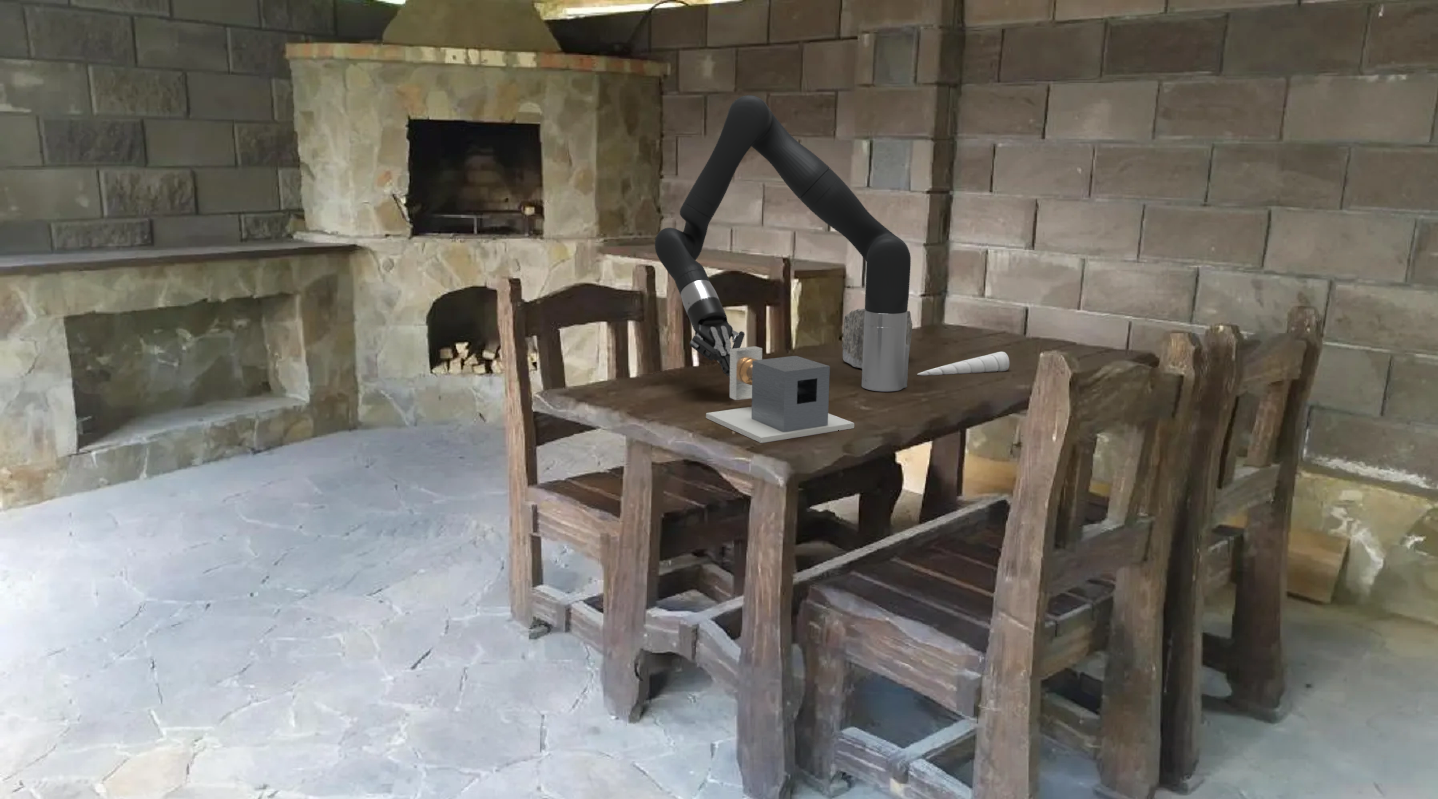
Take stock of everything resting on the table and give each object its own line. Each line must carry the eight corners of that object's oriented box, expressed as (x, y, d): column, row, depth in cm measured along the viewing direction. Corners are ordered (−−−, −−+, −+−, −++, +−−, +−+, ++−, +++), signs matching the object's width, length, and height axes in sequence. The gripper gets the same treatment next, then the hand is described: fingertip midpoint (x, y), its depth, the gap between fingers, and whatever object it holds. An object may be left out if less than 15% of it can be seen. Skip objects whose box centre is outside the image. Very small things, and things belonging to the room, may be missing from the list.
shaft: (754, 394, 212) (755, 346, 209) (797, 410, 199) (799, 359, 196) (729, 397, 209) (730, 348, 206) (771, 414, 196) (772, 363, 193)
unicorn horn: (909, 373, 245) (911, 353, 244) (999, 369, 251) (1001, 349, 250) (918, 377, 241) (919, 357, 240) (1009, 373, 247) (1011, 353, 246)
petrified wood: (887, 354, 267) (890, 296, 263) (931, 366, 252) (934, 305, 248) (827, 360, 258) (829, 301, 254) (868, 374, 243) (871, 311, 240)
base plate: (794, 405, 213) (794, 400, 213) (854, 428, 196) (854, 423, 196) (705, 418, 203) (705, 413, 202) (761, 443, 186) (761, 437, 186)
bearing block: (794, 412, 203) (795, 355, 201) (827, 425, 194) (829, 366, 191) (751, 418, 198) (752, 360, 196) (783, 432, 189) (785, 371, 186)
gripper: (681, 297, 214) (711, 366, 206) (736, 293, 220) (766, 360, 213) (669, 319, 219) (697, 387, 212) (723, 314, 226) (752, 380, 219)
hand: (732, 373), depth 213 cm, fingers closed
